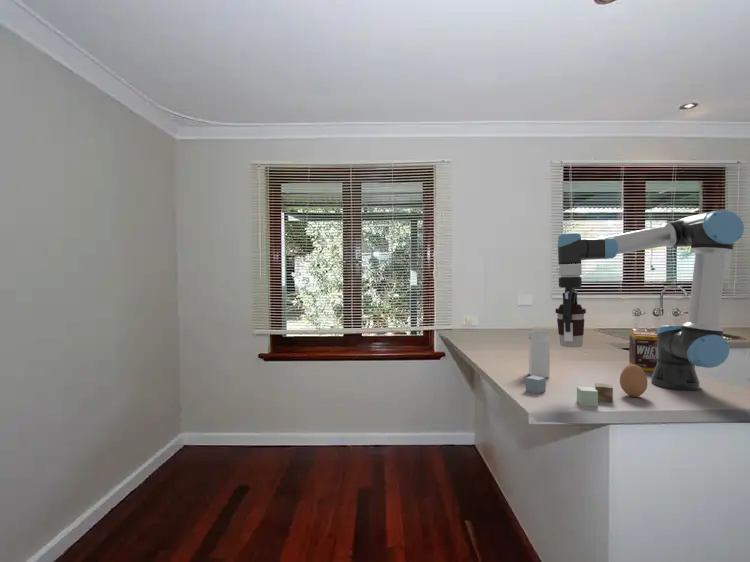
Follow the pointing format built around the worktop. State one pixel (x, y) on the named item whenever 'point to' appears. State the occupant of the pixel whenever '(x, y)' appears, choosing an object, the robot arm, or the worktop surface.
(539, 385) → the slate painted cube
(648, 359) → the supplement box
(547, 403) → the worktop surface
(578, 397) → the sage painted cube
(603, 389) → the walnut cube
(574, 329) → the coffee cup
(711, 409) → the worktop surface
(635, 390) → the egg
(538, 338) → the milk carton
